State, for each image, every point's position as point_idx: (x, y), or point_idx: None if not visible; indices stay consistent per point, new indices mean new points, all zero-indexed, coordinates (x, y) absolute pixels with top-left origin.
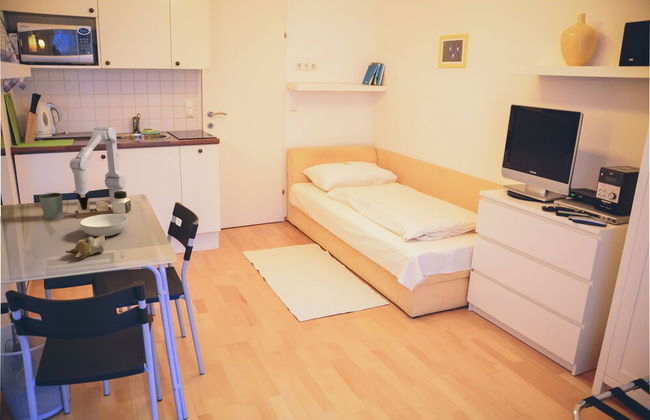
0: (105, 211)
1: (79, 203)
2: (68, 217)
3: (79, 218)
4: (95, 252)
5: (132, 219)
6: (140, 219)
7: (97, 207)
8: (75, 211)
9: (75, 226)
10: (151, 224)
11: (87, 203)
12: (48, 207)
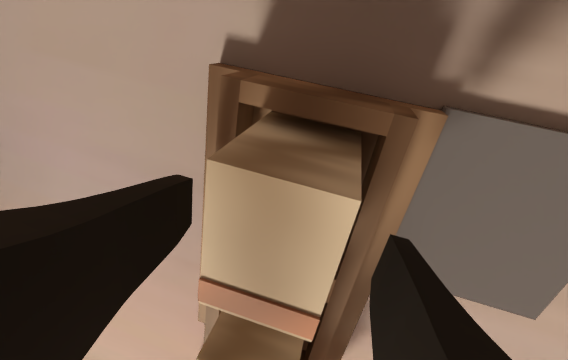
0: (206, 319)
1: (335, 231)
2: (415, 7)
3: (208, 100)
4: None
5: (112, 339)
6: (101, 356)
7: (218, 320)
8: (363, 111)
9: (40, 10)
10: None
11: (247, 306)
12: None
